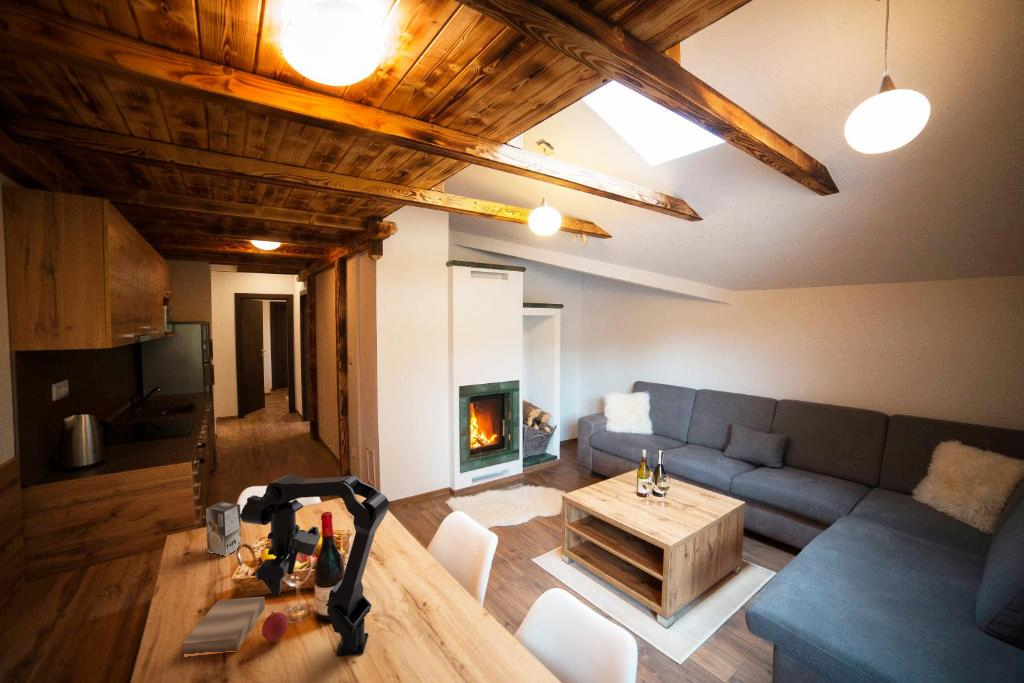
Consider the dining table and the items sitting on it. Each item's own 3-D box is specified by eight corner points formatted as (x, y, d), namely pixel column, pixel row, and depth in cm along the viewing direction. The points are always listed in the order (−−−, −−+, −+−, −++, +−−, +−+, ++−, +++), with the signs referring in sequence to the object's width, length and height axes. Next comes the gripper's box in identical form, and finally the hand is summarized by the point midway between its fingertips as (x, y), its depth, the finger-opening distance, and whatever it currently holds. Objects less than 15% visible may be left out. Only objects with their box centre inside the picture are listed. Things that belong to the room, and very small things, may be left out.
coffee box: (242, 547, 152) (241, 504, 151) (225, 557, 146) (224, 511, 145) (223, 543, 154) (222, 500, 154) (206, 552, 148) (204, 508, 147)
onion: (282, 629, 112) (282, 599, 112) (292, 639, 108) (291, 609, 108) (258, 641, 107) (257, 611, 107) (267, 653, 104) (267, 621, 103)
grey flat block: (236, 654, 104) (236, 638, 104) (182, 659, 102) (182, 643, 102) (264, 610, 120) (264, 596, 120) (218, 614, 118) (218, 600, 118)
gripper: (304, 542, 101) (305, 605, 102) (326, 508, 119) (326, 562, 120) (254, 545, 99) (255, 610, 100) (284, 510, 118) (284, 565, 118)
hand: (284, 584), depth 110 cm, fingers open, 9 cm apart
